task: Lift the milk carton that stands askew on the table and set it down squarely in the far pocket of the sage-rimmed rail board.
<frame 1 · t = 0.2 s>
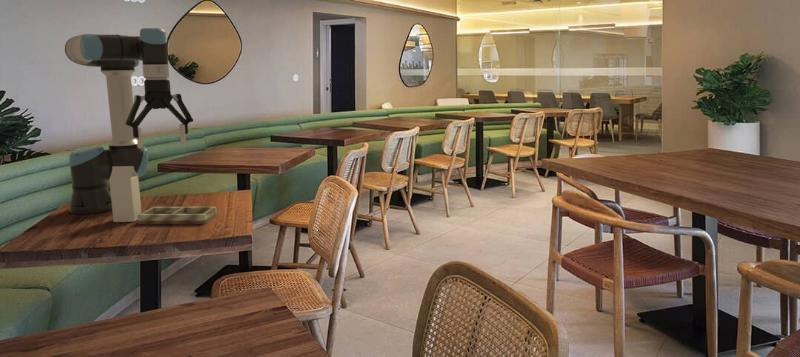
hand: (162, 146, 191), 28 cm above the table, fingers open, 13 cm apart
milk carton: (128, 220, 209), on the table
rail board: (178, 219, 209), on the table
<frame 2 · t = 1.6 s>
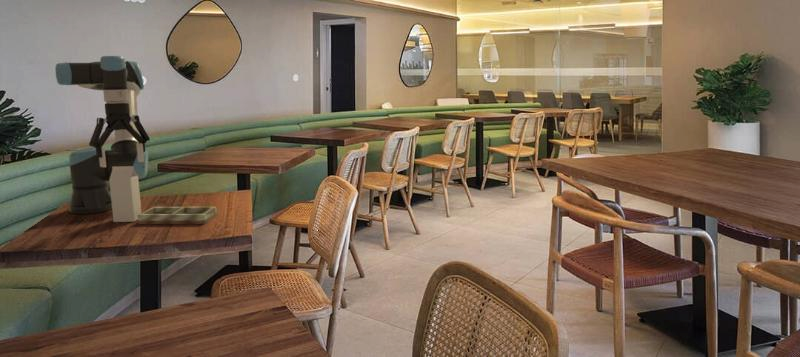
hand: (122, 164, 206), 20 cm above the table, fingers open, 13 cm apart
nothing on the table moved.
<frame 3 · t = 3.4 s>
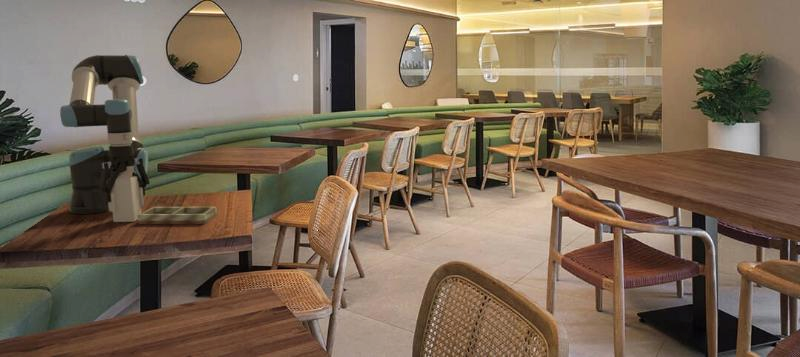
hand: (126, 208, 209), 4 cm above the table, fingers closed on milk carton, 10 cm apart
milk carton: (128, 220, 209), on the table, touching gripper
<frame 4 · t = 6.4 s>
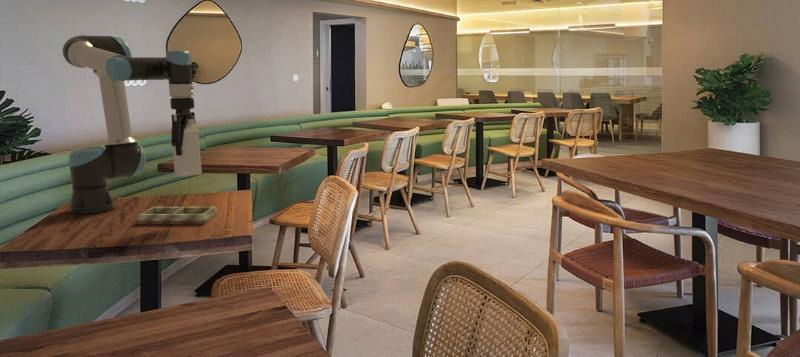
hand: (187, 162, 205), 20 cm above the table, fingers closed on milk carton, 10 cm apart
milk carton: (188, 175, 206), point 16 cm above the table, touching gripper
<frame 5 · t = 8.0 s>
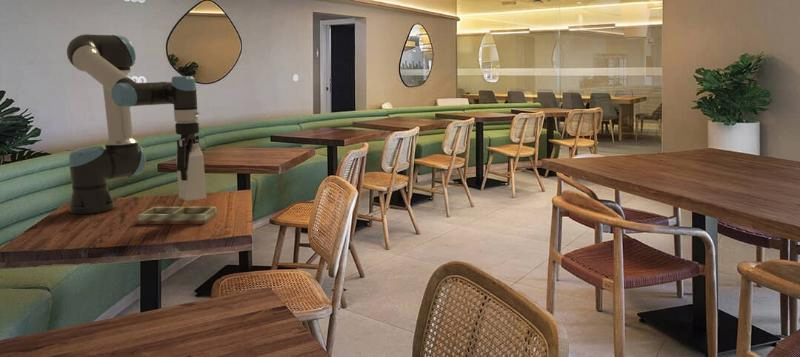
hand: (191, 186, 207), 12 cm above the table, fingers closed on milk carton, 10 cm apart
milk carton: (192, 198, 207), point 7 cm above the table, touching gripper
when the fingers open (7 cm above the table, at t = 9.5 s): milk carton stays where it is, resting on rail board.
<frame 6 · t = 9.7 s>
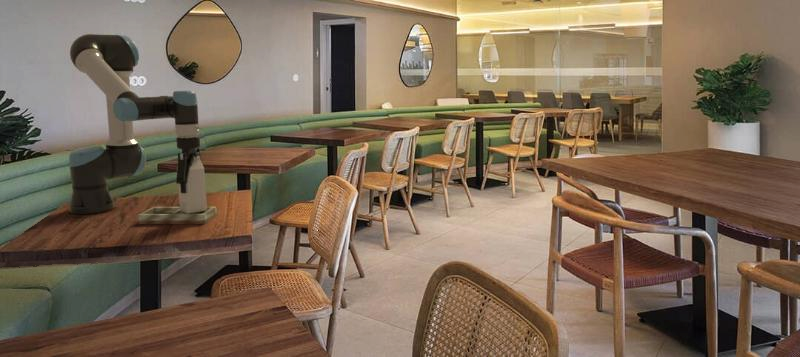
hand: (192, 198, 207), 8 cm above the table, fingers open, 12 cm apart
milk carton: (193, 211, 208), point 3 cm above the table, touching rail board
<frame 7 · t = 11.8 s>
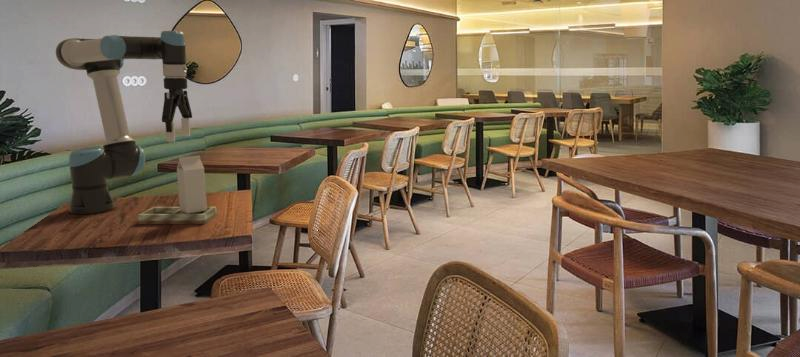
hand: (178, 139, 208), 28 cm above the table, fingers open, 13 cm apart
nothing on the table moved.
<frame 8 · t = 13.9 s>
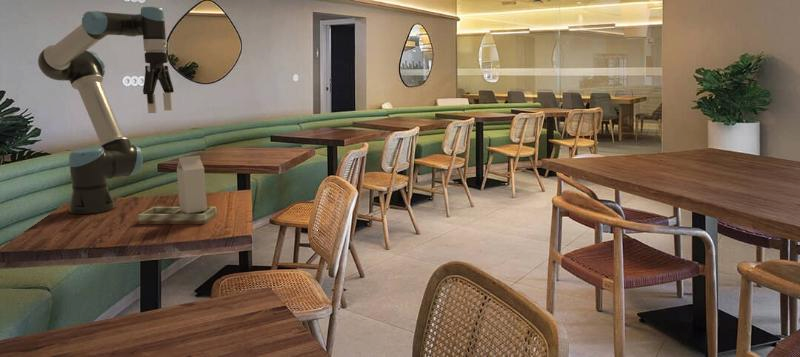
hand: (160, 111, 217), 37 cm above the table, fingers open, 13 cm apart
nothing on the table moved.
at the end: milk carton inside the target area (0.0 cm from its centre), point 3.0 cm above the table; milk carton tilted 0°; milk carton touching rail board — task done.
